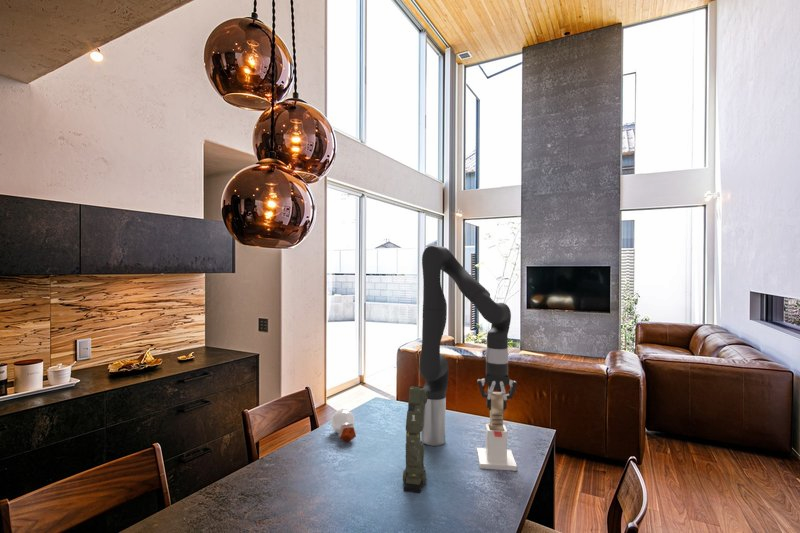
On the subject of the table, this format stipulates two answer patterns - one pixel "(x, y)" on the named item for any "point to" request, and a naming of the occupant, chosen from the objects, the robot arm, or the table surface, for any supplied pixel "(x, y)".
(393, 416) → the table surface
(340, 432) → the potion bottle
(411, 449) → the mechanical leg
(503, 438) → the sleeve stand
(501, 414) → the post
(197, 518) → the table surface
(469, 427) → the table surface
